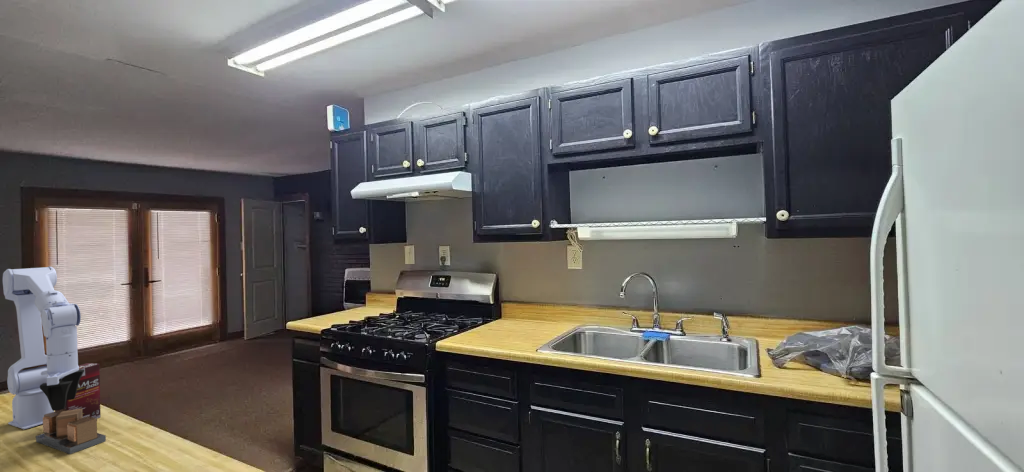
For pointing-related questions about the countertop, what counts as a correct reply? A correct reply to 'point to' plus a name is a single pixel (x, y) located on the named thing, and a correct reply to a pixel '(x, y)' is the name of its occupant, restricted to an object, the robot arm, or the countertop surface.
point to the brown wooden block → (66, 421)
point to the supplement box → (87, 392)
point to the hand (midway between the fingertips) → (64, 404)
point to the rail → (70, 433)
